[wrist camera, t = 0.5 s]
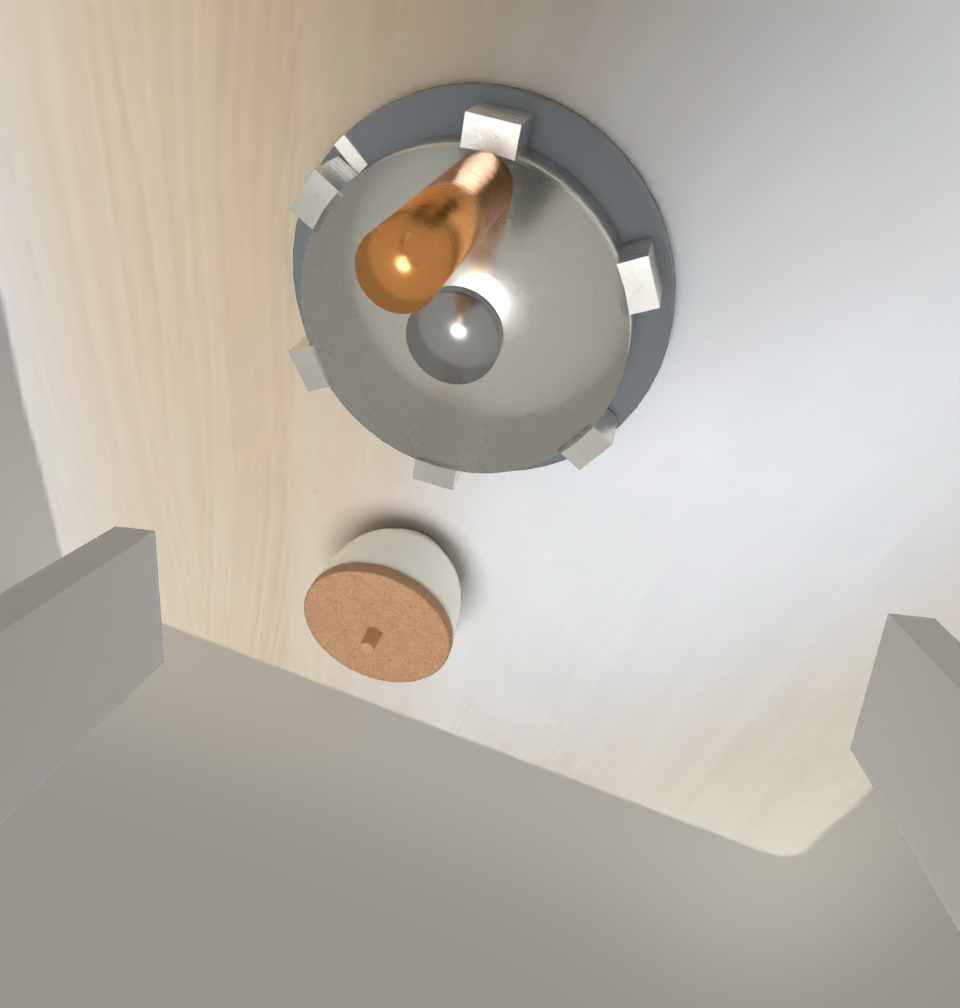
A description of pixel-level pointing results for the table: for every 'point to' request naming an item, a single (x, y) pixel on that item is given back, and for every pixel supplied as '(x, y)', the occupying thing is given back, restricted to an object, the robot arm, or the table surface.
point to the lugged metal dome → (470, 300)
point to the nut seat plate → (569, 148)
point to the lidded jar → (387, 605)
